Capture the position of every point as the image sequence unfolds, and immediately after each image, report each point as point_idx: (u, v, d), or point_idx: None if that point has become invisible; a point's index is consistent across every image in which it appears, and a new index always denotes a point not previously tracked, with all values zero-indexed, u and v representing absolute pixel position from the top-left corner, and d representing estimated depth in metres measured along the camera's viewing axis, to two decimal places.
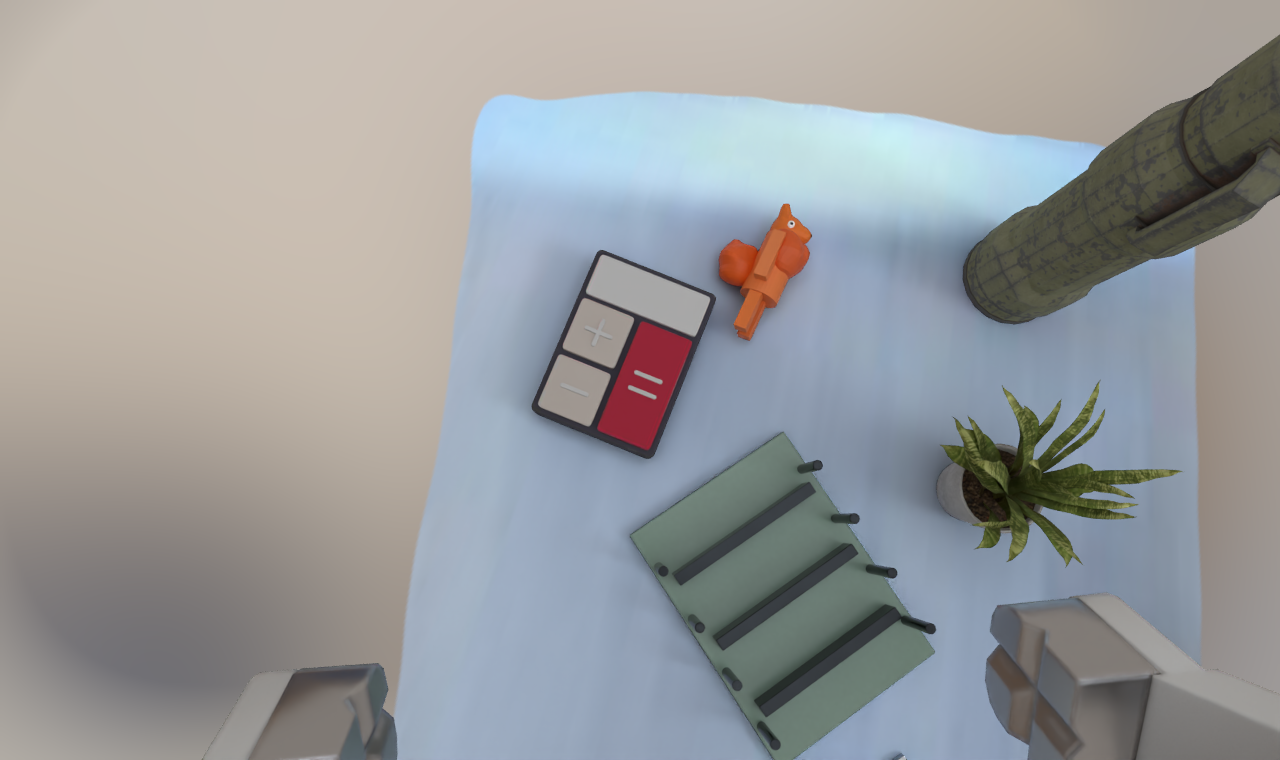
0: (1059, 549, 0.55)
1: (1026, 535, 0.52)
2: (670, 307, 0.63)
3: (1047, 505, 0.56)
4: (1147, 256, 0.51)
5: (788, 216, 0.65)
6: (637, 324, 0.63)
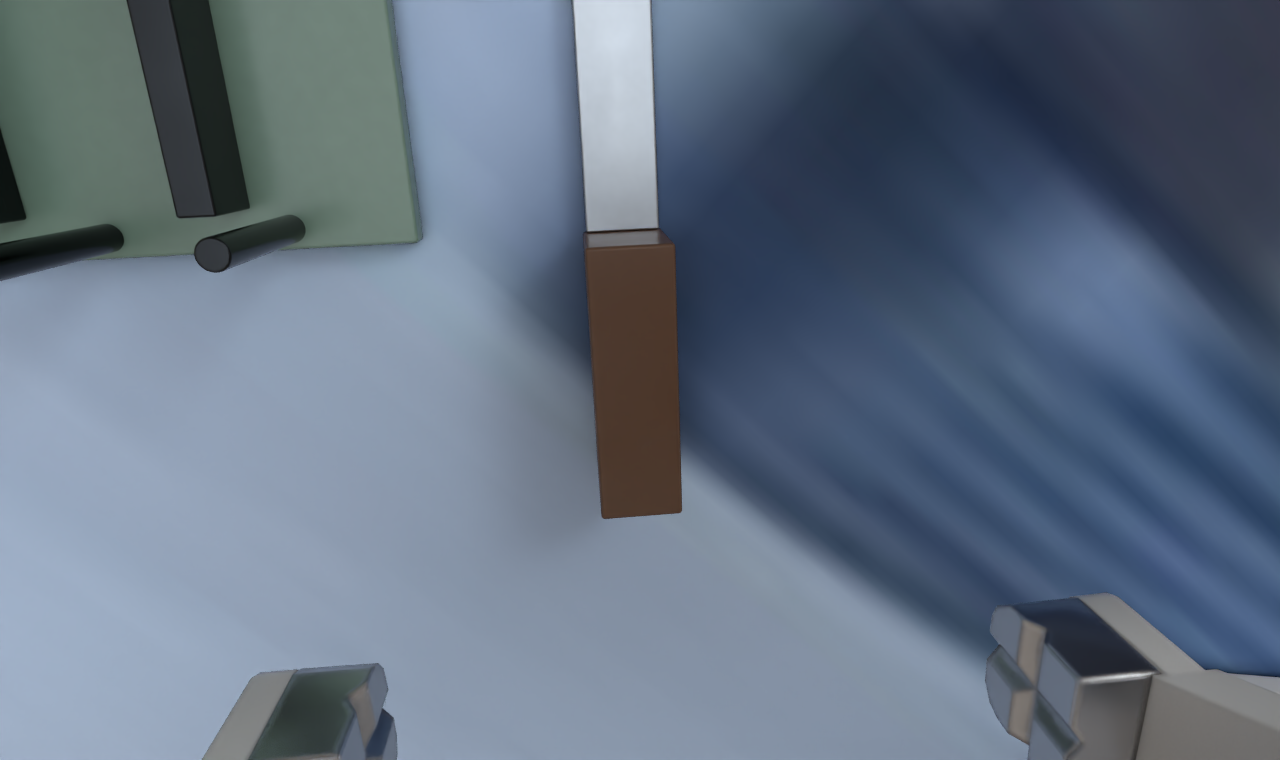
0: None
1: None
2: None
3: None
4: None
5: None
6: None
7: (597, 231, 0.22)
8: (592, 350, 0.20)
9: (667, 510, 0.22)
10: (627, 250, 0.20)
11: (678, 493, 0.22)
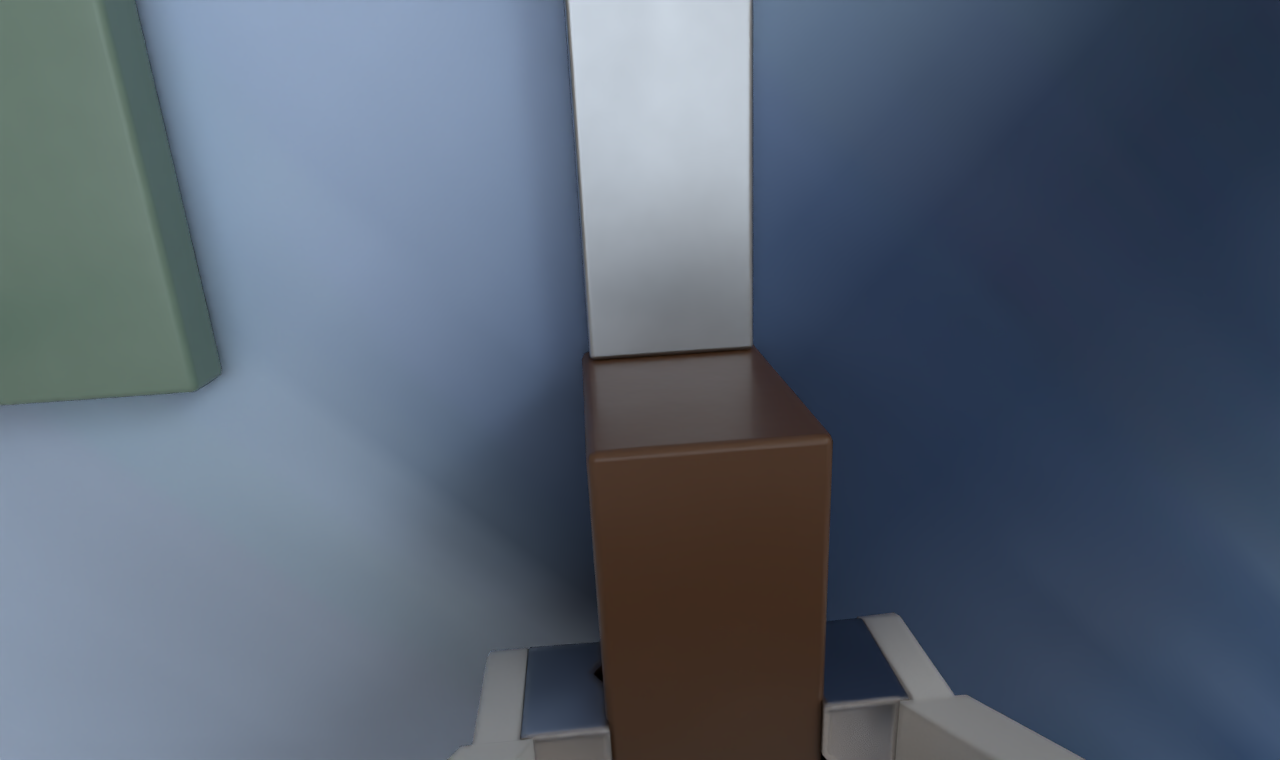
0: None
1: None
2: None
3: None
4: None
5: None
6: None
7: (614, 356, 0.10)
8: (608, 695, 0.08)
9: None
10: (703, 457, 0.07)
11: None
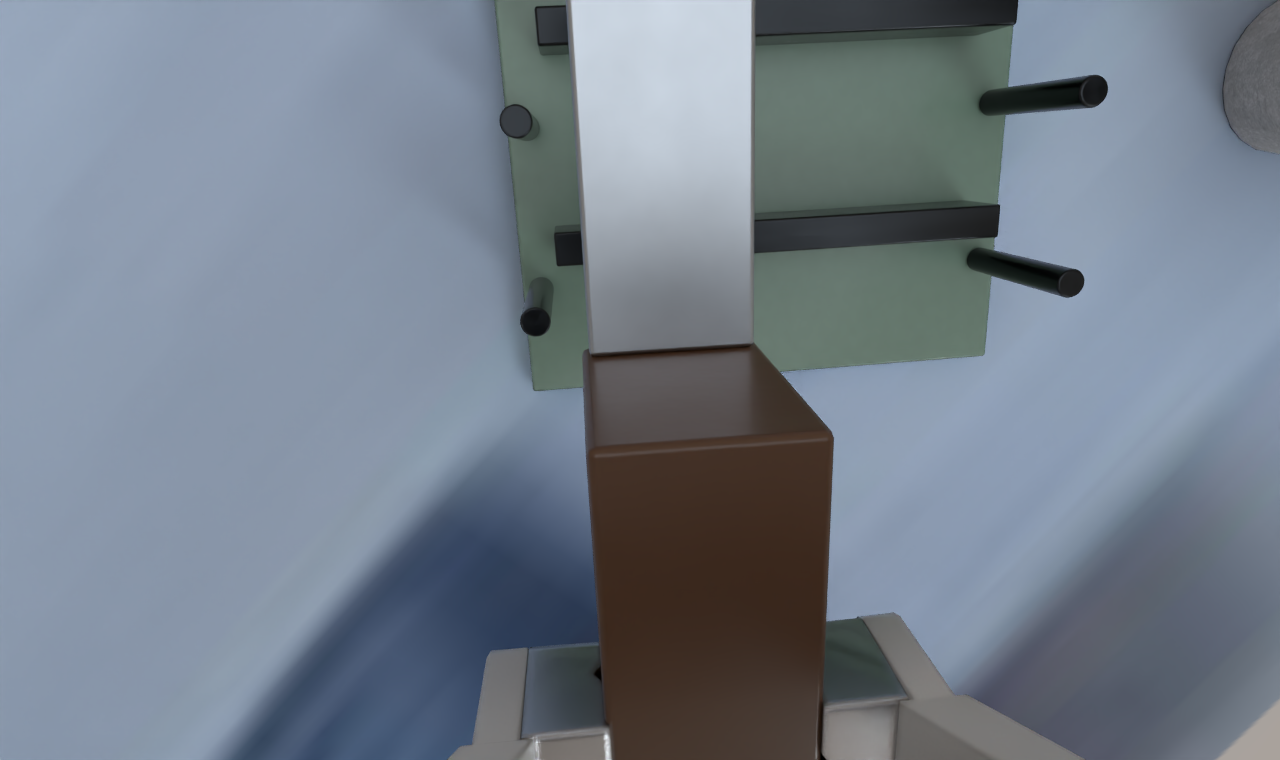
0: None
1: None
2: None
3: None
4: None
5: None
6: None
7: (615, 353, 0.10)
8: (606, 693, 0.08)
9: None
10: (703, 454, 0.07)
11: None
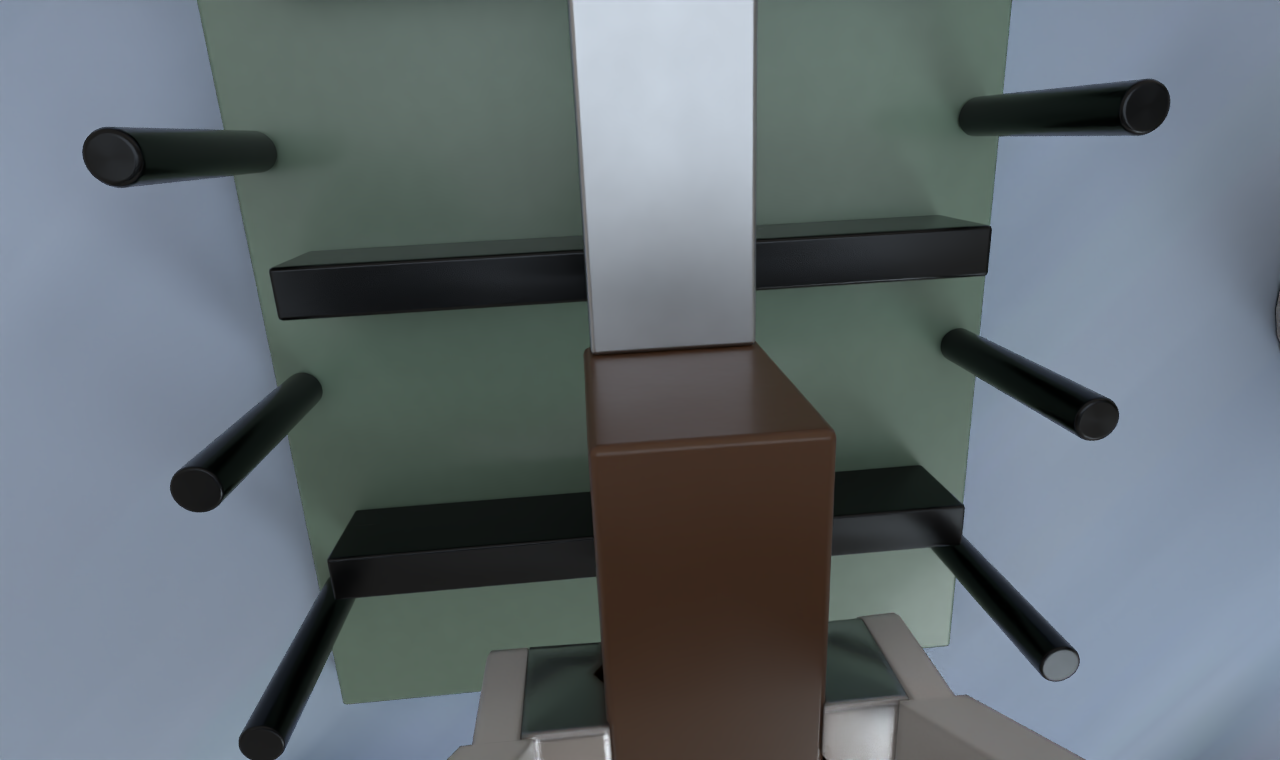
0: None
1: None
2: None
3: None
4: None
5: None
6: None
7: (616, 352, 0.10)
8: (608, 692, 0.08)
9: None
10: (705, 452, 0.07)
11: None
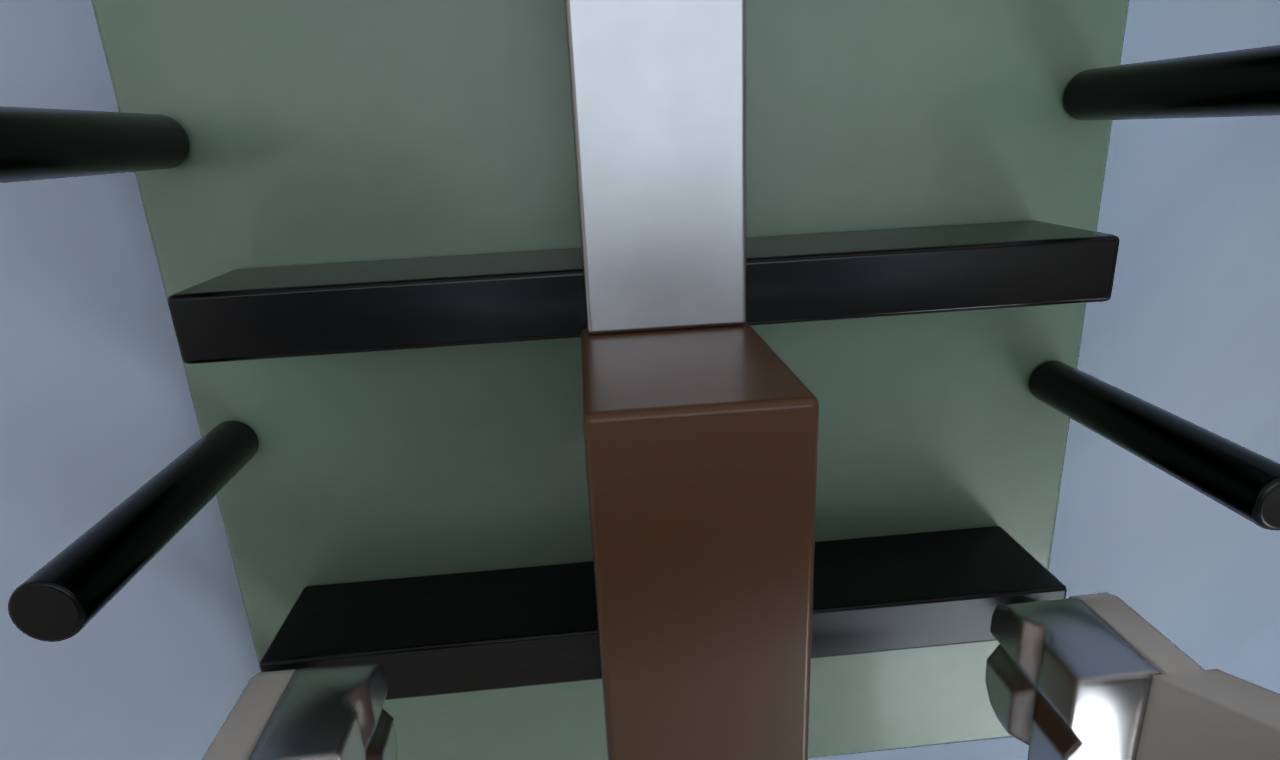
0: None
1: None
2: None
3: None
4: None
5: None
6: None
7: (612, 331, 0.10)
8: (603, 651, 0.08)
9: None
10: (695, 419, 0.07)
11: None
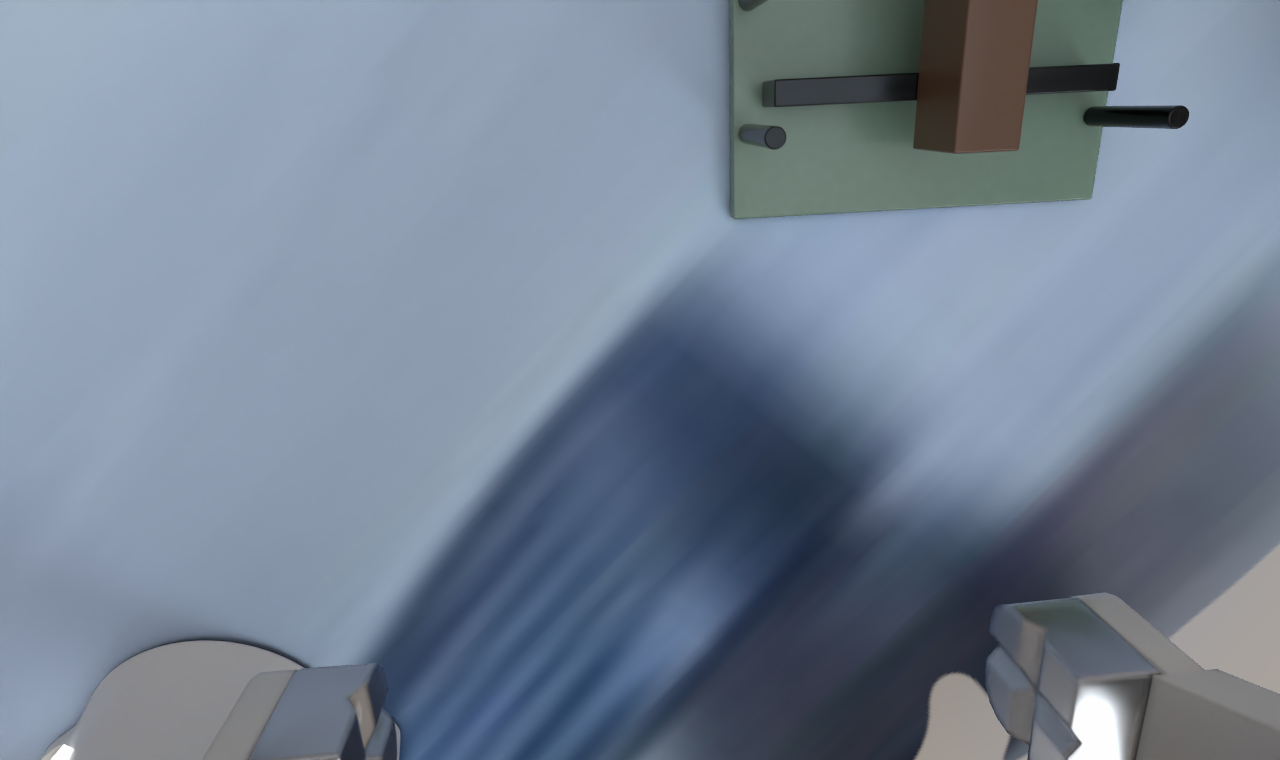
0: None
1: None
2: None
3: None
4: None
5: None
6: None
7: None
8: None
9: (1008, 146, 0.26)
10: None
11: (1019, 130, 0.26)
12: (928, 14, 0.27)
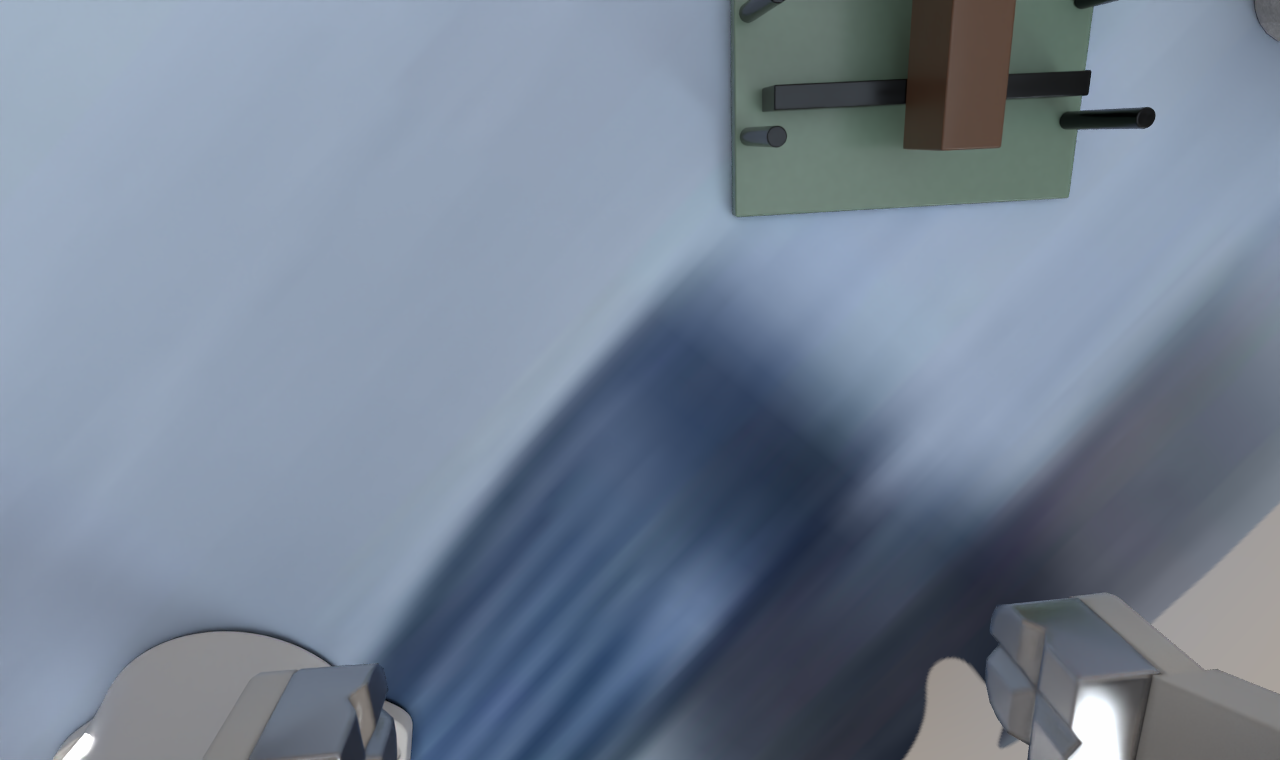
0: None
1: None
2: None
3: None
4: None
5: None
6: None
7: None
8: None
9: (991, 144, 0.28)
10: None
11: (1001, 129, 0.28)
12: (915, 25, 0.30)
